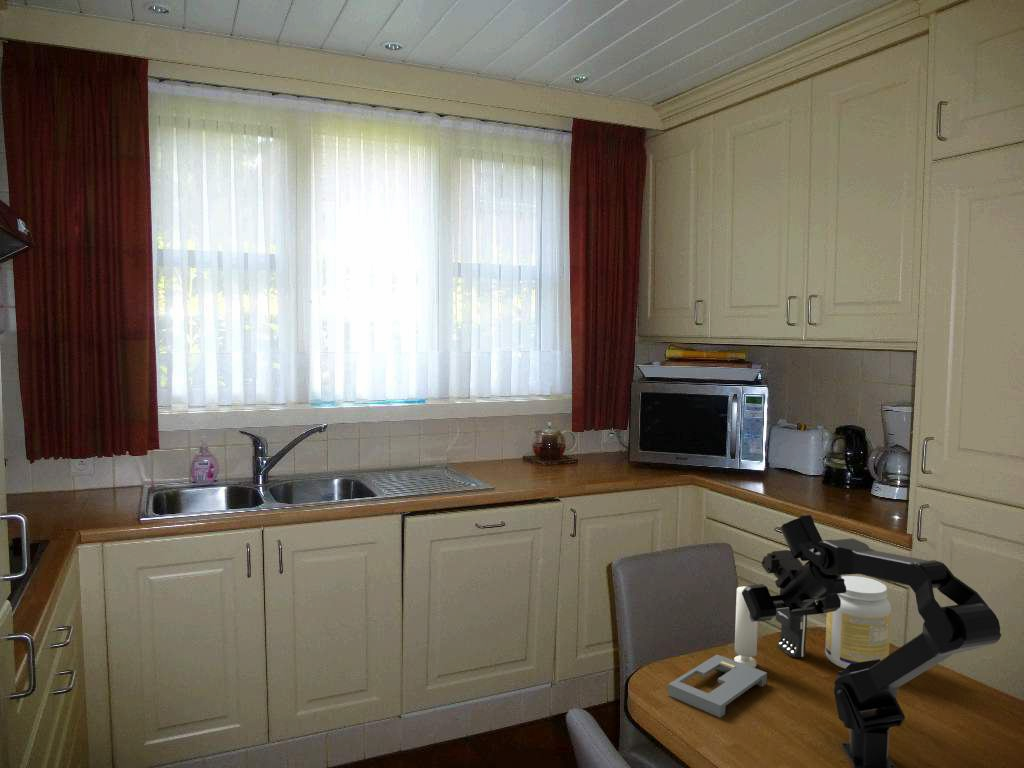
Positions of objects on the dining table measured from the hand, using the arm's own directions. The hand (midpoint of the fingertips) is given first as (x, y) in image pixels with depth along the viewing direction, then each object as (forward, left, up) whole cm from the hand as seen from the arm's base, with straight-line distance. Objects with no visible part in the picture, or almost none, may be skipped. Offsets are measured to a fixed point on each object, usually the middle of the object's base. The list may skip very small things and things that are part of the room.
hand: (771, 616), depth 146 cm
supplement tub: (+11, -21, -14) cm, 27 cm away
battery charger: (+14, -8, -14) cm, 21 cm away
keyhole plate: (-4, +11, -13) cm, 18 cm away
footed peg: (+7, +3, -13) cm, 16 cm away
